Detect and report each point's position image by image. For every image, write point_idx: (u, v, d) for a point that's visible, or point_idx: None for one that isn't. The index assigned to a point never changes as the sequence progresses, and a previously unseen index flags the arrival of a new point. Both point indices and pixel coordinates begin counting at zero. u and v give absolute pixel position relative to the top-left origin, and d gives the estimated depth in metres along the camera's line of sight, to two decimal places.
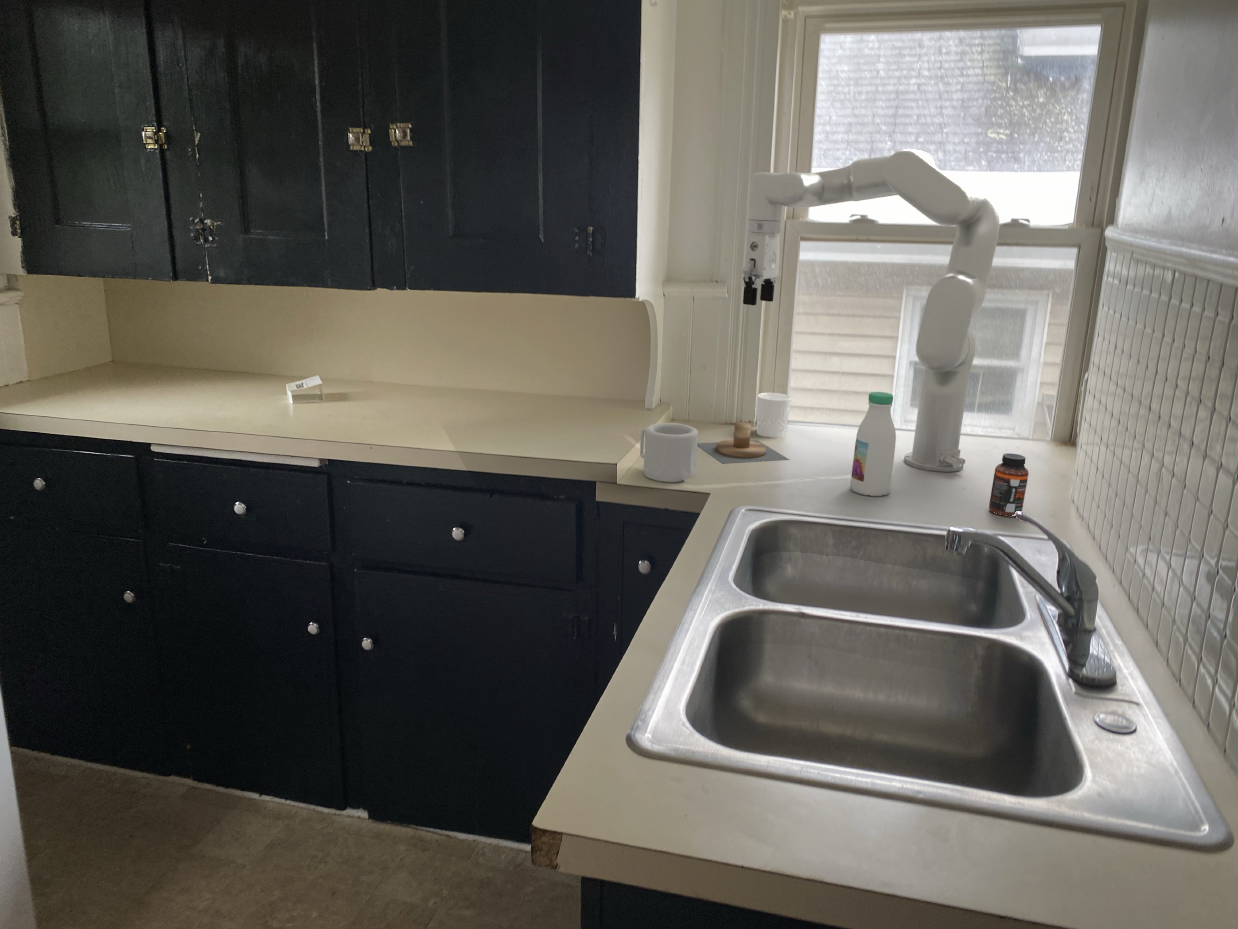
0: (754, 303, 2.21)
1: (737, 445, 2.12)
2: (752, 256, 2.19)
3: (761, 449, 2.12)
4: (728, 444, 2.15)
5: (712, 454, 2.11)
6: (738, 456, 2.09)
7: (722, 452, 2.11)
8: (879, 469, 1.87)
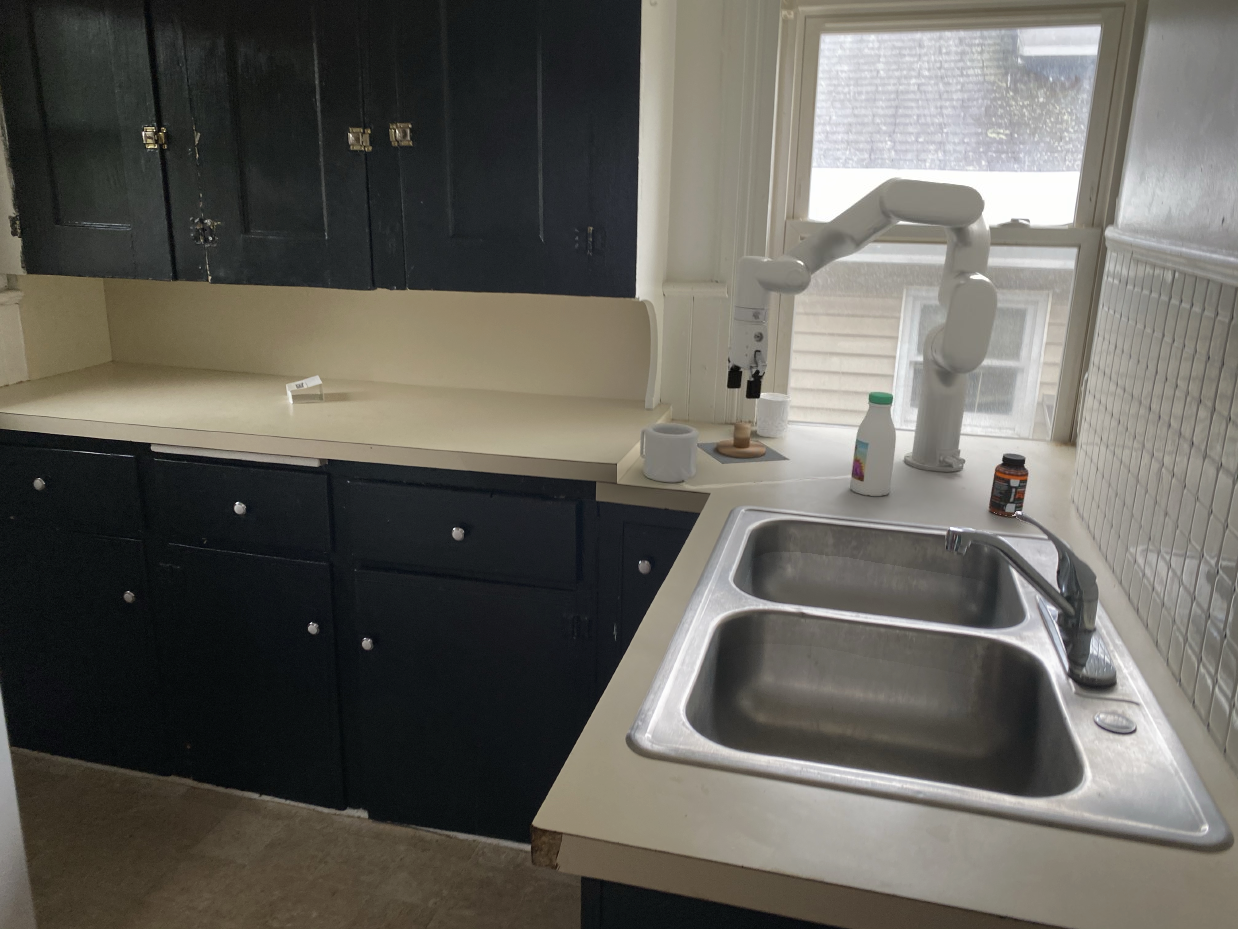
0: (759, 396, 2.06)
1: (737, 445, 2.12)
2: (757, 348, 2.02)
3: (761, 448, 2.12)
4: (728, 444, 2.15)
5: (712, 454, 2.11)
6: (738, 456, 2.09)
7: (722, 452, 2.11)
8: (879, 469, 1.87)
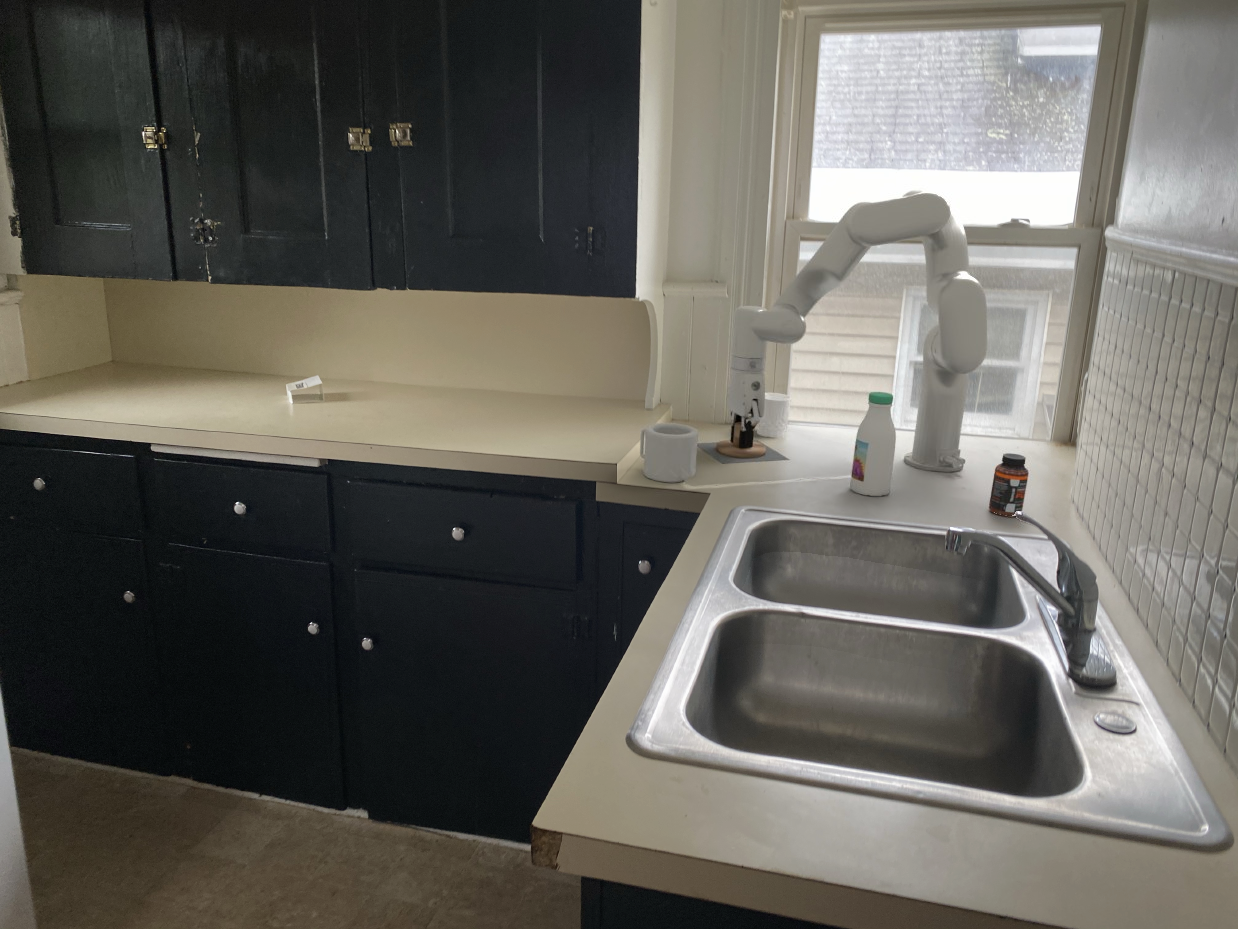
0: (751, 445, 2.12)
1: (737, 445, 2.12)
2: (754, 396, 2.06)
3: (761, 448, 2.12)
4: (728, 444, 2.15)
5: (712, 454, 2.11)
6: (738, 456, 2.09)
7: (722, 452, 2.11)
8: (879, 469, 1.87)
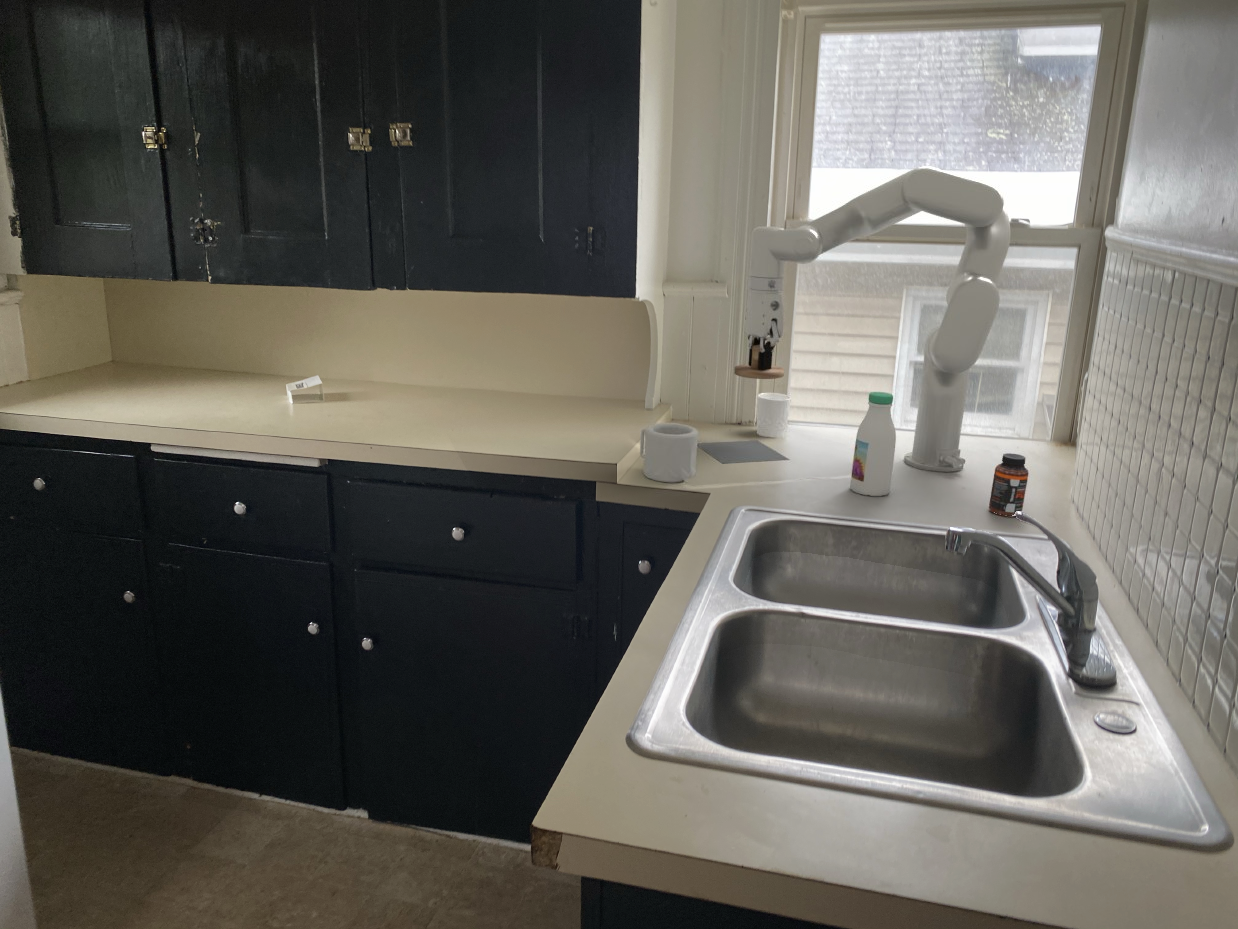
0: (770, 367, 2.13)
1: (755, 367, 2.13)
2: (774, 316, 2.07)
3: (779, 370, 2.13)
4: (746, 367, 2.16)
5: (712, 454, 2.11)
6: (758, 377, 2.10)
7: (741, 374, 2.12)
8: (879, 469, 1.87)
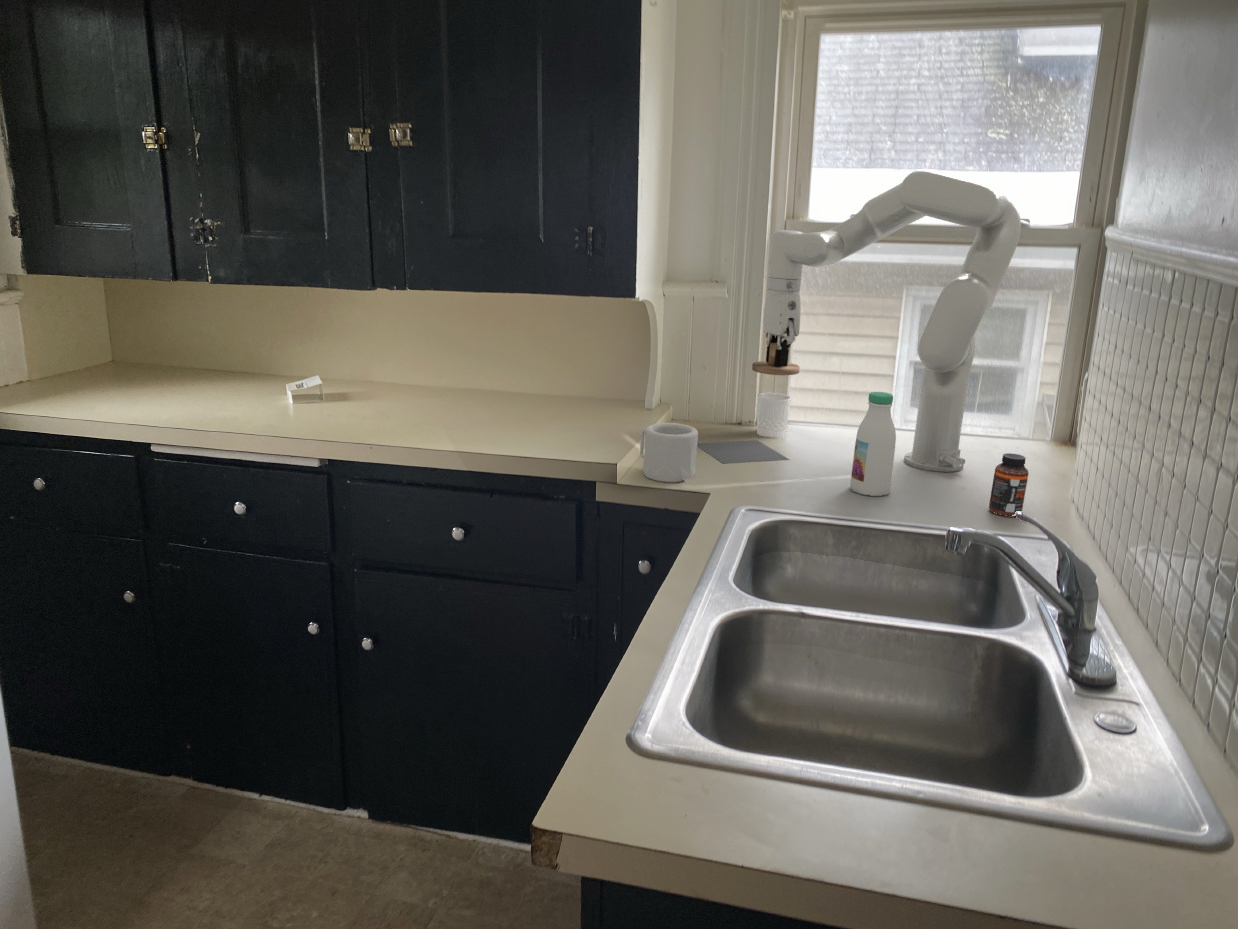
0: (786, 364, 2.23)
1: (772, 364, 2.24)
2: (790, 315, 2.17)
3: (795, 367, 2.24)
4: (763, 363, 2.27)
5: (712, 454, 2.11)
6: (774, 373, 2.20)
7: (758, 370, 2.22)
8: (879, 469, 1.87)
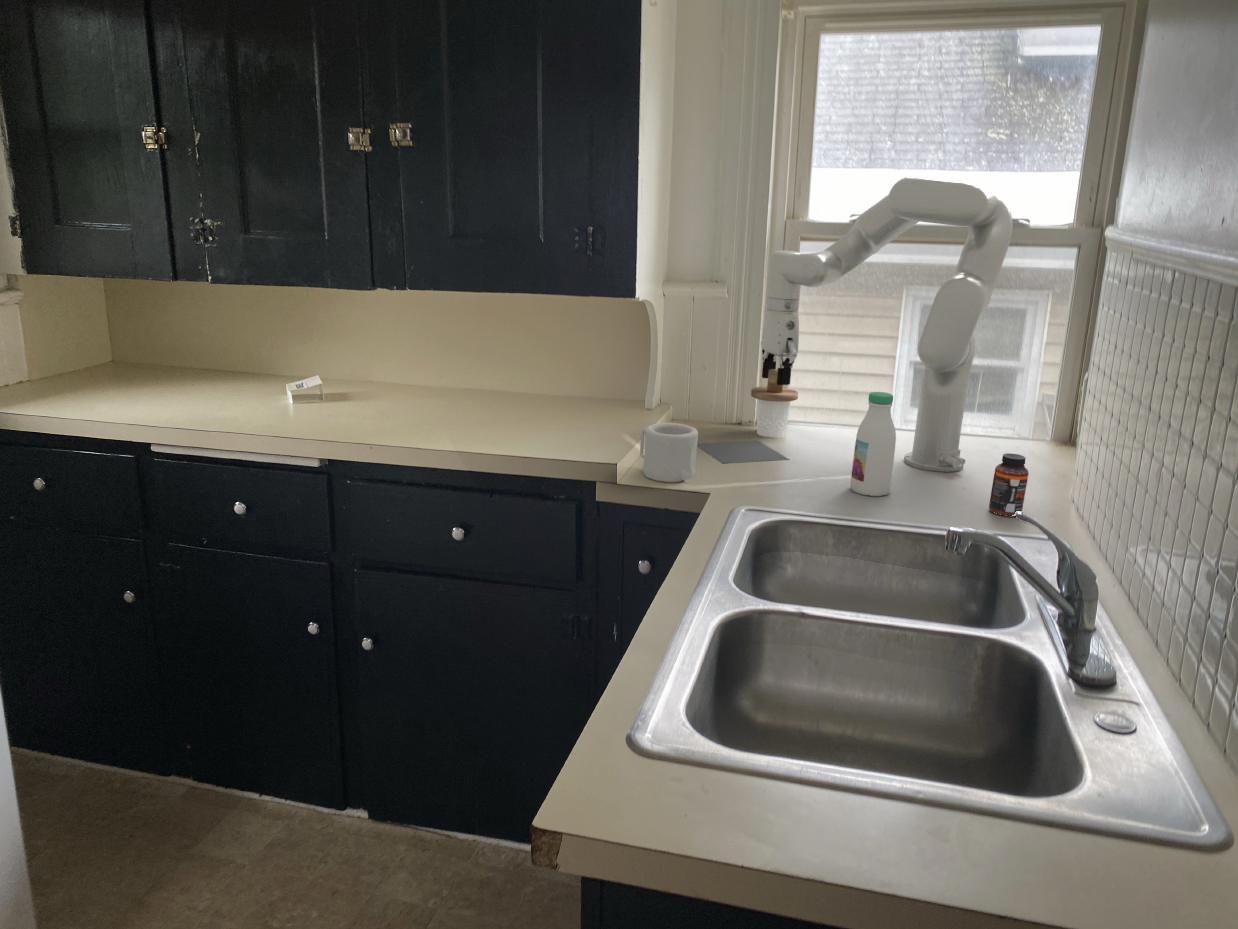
0: (788, 382, 2.23)
1: (771, 390, 2.25)
2: (789, 335, 2.18)
3: (794, 393, 2.25)
4: (762, 389, 2.28)
5: (712, 454, 2.11)
6: (772, 399, 2.22)
7: (757, 396, 2.24)
8: (879, 469, 1.87)
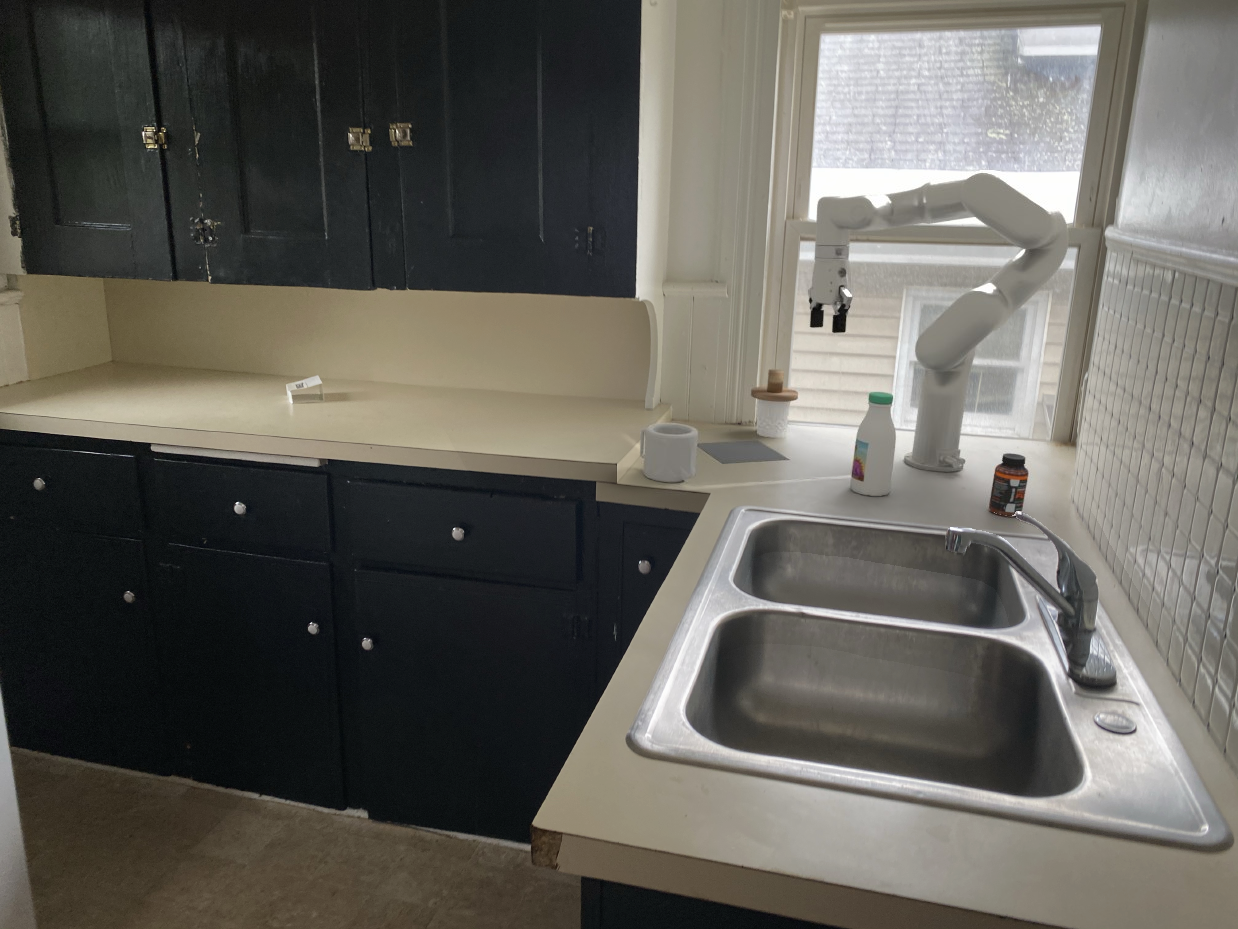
0: (844, 330, 2.15)
1: (771, 390, 2.26)
2: (841, 283, 2.12)
3: (794, 393, 2.25)
4: (762, 389, 2.28)
5: (712, 454, 2.11)
6: (772, 399, 2.22)
7: (757, 396, 2.24)
8: (879, 469, 1.87)
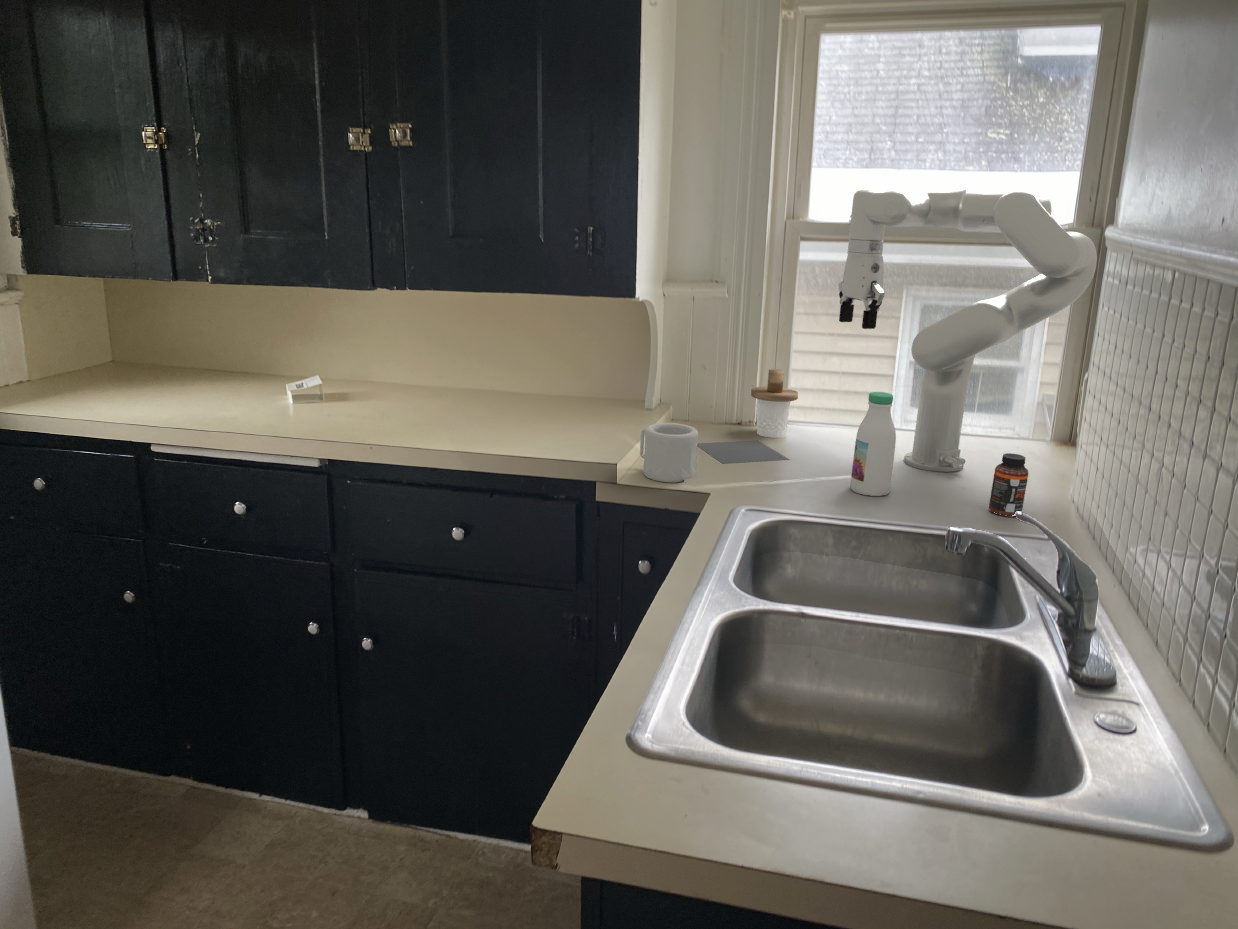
0: (874, 326, 2.13)
1: (771, 390, 2.26)
2: (873, 278, 2.10)
3: (794, 393, 2.25)
4: (762, 389, 2.28)
5: (712, 454, 2.11)
6: (772, 399, 2.22)
7: (757, 396, 2.24)
8: (879, 469, 1.87)
